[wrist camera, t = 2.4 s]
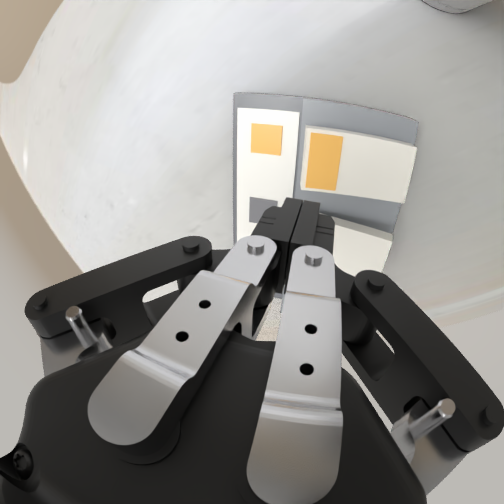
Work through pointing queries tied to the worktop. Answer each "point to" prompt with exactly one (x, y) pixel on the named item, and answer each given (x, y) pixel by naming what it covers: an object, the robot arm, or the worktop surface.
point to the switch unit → (300, 157)
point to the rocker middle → (359, 247)
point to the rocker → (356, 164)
